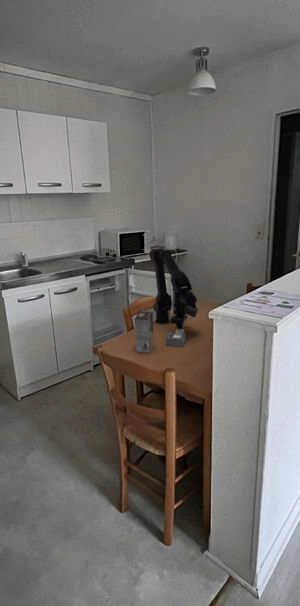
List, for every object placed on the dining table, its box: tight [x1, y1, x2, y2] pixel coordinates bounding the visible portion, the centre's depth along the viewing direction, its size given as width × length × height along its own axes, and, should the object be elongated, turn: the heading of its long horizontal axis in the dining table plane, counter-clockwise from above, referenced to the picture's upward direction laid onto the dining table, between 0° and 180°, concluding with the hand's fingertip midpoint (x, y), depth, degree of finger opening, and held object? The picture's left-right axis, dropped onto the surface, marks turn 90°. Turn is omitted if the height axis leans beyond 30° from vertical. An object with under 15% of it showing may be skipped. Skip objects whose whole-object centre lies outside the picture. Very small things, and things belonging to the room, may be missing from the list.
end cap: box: [165, 330, 187, 348], centre depth 166 cm, size 8×8×4 cm
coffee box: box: [134, 311, 155, 353], centre depth 159 cm, size 9×6×16 cm
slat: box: [172, 328, 185, 338], centre depth 170 cm, size 4×12×3 cm, turn 165°
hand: (180, 331), depth 177 cm, fingers closed
